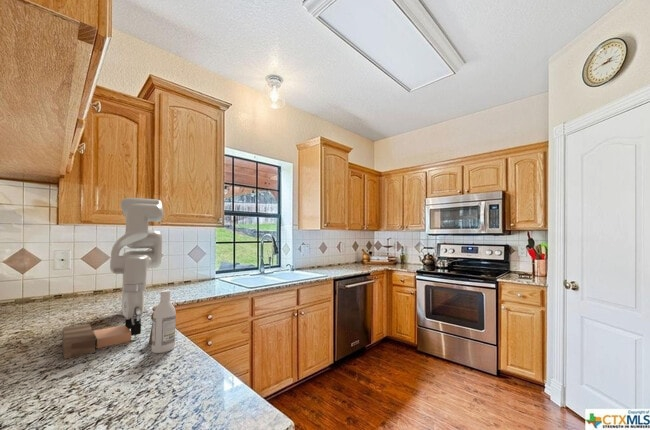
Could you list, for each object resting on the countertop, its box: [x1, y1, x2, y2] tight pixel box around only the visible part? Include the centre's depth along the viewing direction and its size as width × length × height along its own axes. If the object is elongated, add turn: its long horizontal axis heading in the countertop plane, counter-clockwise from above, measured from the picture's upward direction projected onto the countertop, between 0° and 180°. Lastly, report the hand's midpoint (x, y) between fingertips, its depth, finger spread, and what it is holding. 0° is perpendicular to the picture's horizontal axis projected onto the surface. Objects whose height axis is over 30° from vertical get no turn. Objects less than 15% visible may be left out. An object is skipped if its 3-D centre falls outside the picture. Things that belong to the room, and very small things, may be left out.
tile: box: [93, 324, 132, 349], centre depth 106 cm, size 12×10×4 cm
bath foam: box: [151, 289, 177, 354], centre depth 97 cm, size 7×7×20 cm
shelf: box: [61, 323, 96, 359], centre depth 99 cm, size 19×8×5 cm, turn 45°
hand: (132, 331), depth 110 cm, fingers open, 9 cm apart
